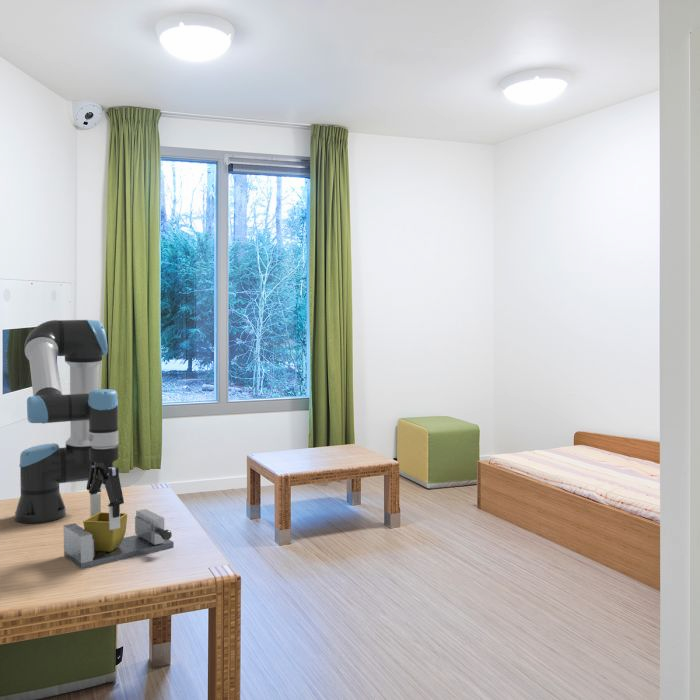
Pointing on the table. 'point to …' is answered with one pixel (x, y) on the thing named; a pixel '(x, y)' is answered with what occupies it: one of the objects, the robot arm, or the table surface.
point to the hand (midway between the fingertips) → (104, 522)
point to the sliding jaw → (151, 527)
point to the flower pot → (105, 531)
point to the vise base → (84, 556)
